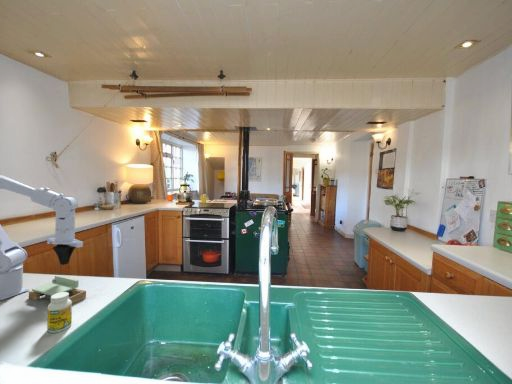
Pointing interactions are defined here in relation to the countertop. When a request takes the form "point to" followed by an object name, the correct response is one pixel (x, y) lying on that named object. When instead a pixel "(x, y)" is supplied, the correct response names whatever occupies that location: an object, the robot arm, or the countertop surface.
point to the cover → (57, 286)
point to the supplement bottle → (59, 312)
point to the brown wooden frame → (76, 297)
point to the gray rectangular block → (50, 296)
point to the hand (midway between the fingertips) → (64, 264)
